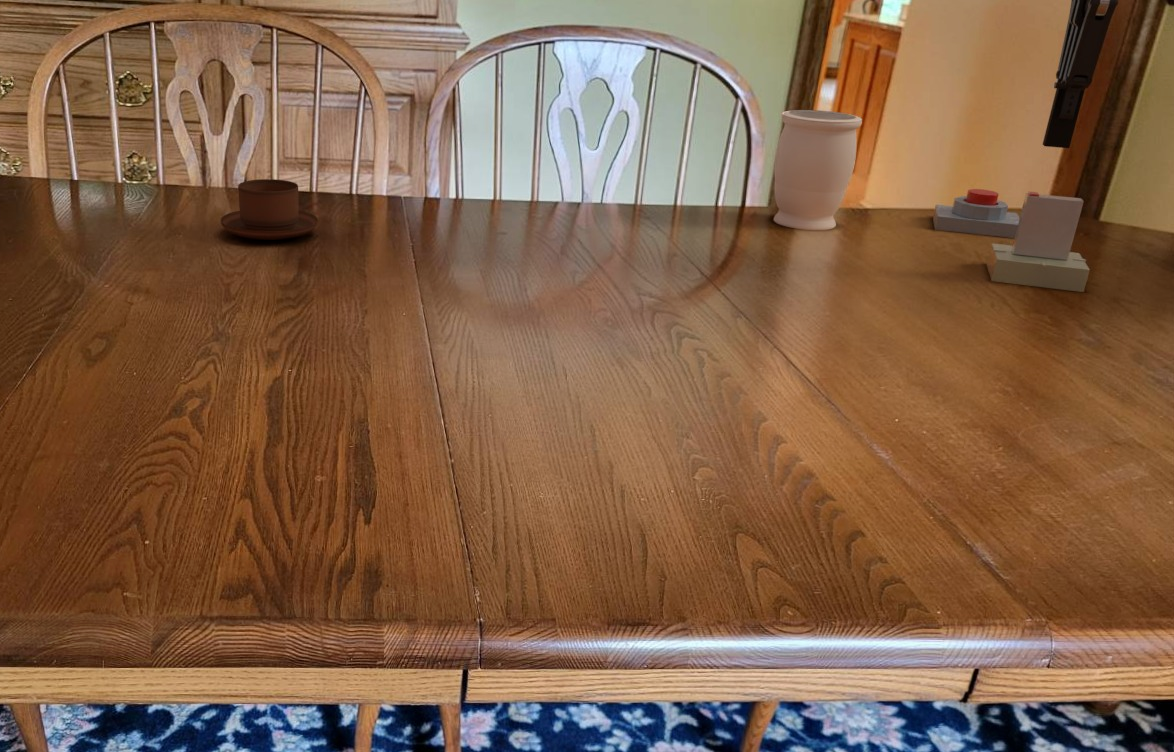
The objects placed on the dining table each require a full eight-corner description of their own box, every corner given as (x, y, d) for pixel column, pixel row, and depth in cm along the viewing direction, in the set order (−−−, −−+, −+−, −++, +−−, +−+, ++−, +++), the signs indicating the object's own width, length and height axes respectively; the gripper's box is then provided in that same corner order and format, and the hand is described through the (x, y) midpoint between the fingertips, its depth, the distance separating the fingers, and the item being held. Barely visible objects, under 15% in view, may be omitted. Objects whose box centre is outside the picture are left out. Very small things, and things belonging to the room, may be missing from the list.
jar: (787, 234, 149) (805, 120, 143) (752, 216, 158) (768, 108, 152) (857, 233, 152) (878, 121, 145) (819, 215, 161) (837, 109, 154)
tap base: (1072, 274, 136) (1079, 249, 135) (1085, 297, 128) (1093, 270, 126) (984, 264, 139) (990, 239, 138) (990, 285, 130) (997, 259, 129)
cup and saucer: (205, 229, 140) (202, 180, 137) (289, 219, 146) (288, 172, 144) (248, 251, 131) (245, 199, 128) (335, 239, 138) (335, 190, 135)
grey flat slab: (1065, 256, 132) (1081, 196, 129) (1067, 260, 130) (1084, 199, 127) (1011, 250, 134) (1026, 190, 131) (1013, 254, 132) (1028, 193, 129)
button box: (1013, 228, 158) (1020, 200, 157) (1019, 240, 151) (1026, 211, 150) (932, 219, 161) (938, 192, 160) (934, 231, 154) (940, 203, 153)
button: (994, 203, 156) (997, 190, 155) (996, 208, 152) (999, 196, 152) (964, 200, 157) (967, 187, 156) (966, 205, 154) (968, 193, 153)
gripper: (1065, -75, 127) (1014, 135, 137) (1086, -77, 115) (1029, 152, 126) (1137, -72, 125) (1080, 140, 135) (1165, -74, 114) (1101, 158, 124)
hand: (1055, 146), depth 130 cm, fingers closed
